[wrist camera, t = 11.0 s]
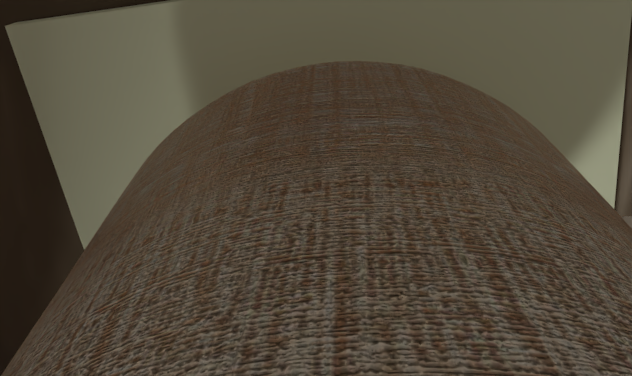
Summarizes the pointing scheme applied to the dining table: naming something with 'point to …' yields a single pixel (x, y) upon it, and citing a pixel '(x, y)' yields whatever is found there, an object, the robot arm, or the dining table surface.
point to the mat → (306, 49)
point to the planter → (348, 243)
